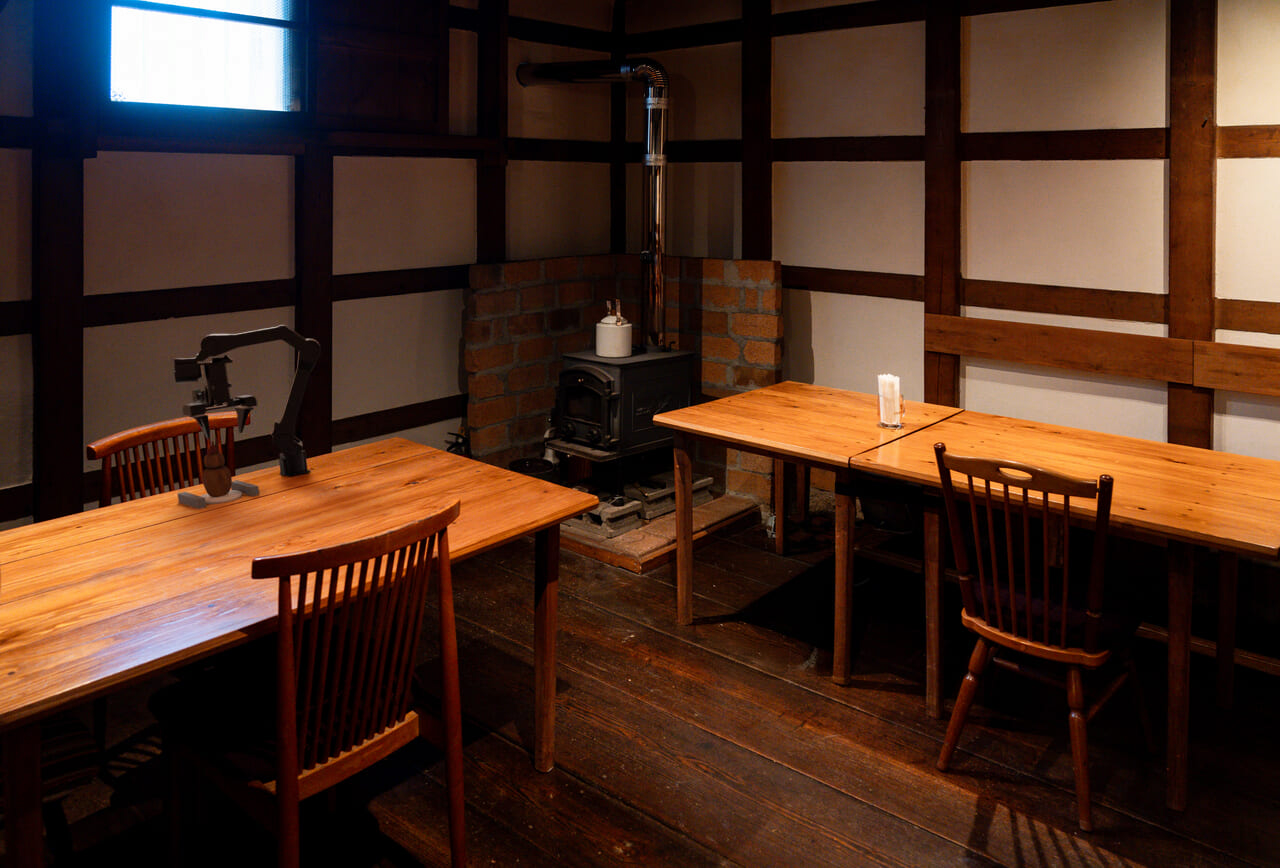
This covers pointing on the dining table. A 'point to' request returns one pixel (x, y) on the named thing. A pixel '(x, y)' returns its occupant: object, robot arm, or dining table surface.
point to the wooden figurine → (216, 472)
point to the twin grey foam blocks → (200, 501)
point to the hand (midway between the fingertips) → (224, 435)
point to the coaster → (222, 497)
